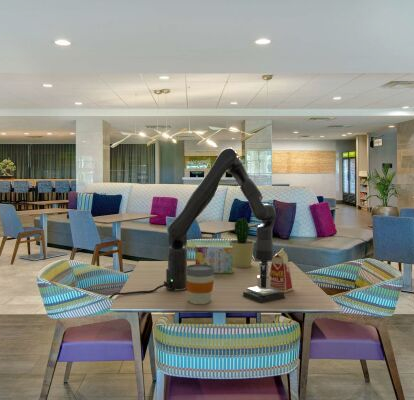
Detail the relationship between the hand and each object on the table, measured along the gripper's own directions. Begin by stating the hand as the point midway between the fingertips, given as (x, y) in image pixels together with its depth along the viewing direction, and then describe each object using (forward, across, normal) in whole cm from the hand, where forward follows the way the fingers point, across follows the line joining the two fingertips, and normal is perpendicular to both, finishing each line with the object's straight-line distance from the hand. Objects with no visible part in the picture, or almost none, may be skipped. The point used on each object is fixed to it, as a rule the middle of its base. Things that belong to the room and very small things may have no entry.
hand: (263, 285), depth 183 cm
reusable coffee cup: (+5, +13, -27) cm, 30 cm away
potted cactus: (+5, -65, -17) cm, 67 cm away
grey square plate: (+2, 0, 0) cm, 2 cm away
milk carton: (+5, -14, +7) cm, 17 cm away
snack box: (+5, -43, -30) cm, 53 cm away
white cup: (+1, 0, 0) cm, 1 cm away
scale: (+5, 0, 0) cm, 5 cm away
